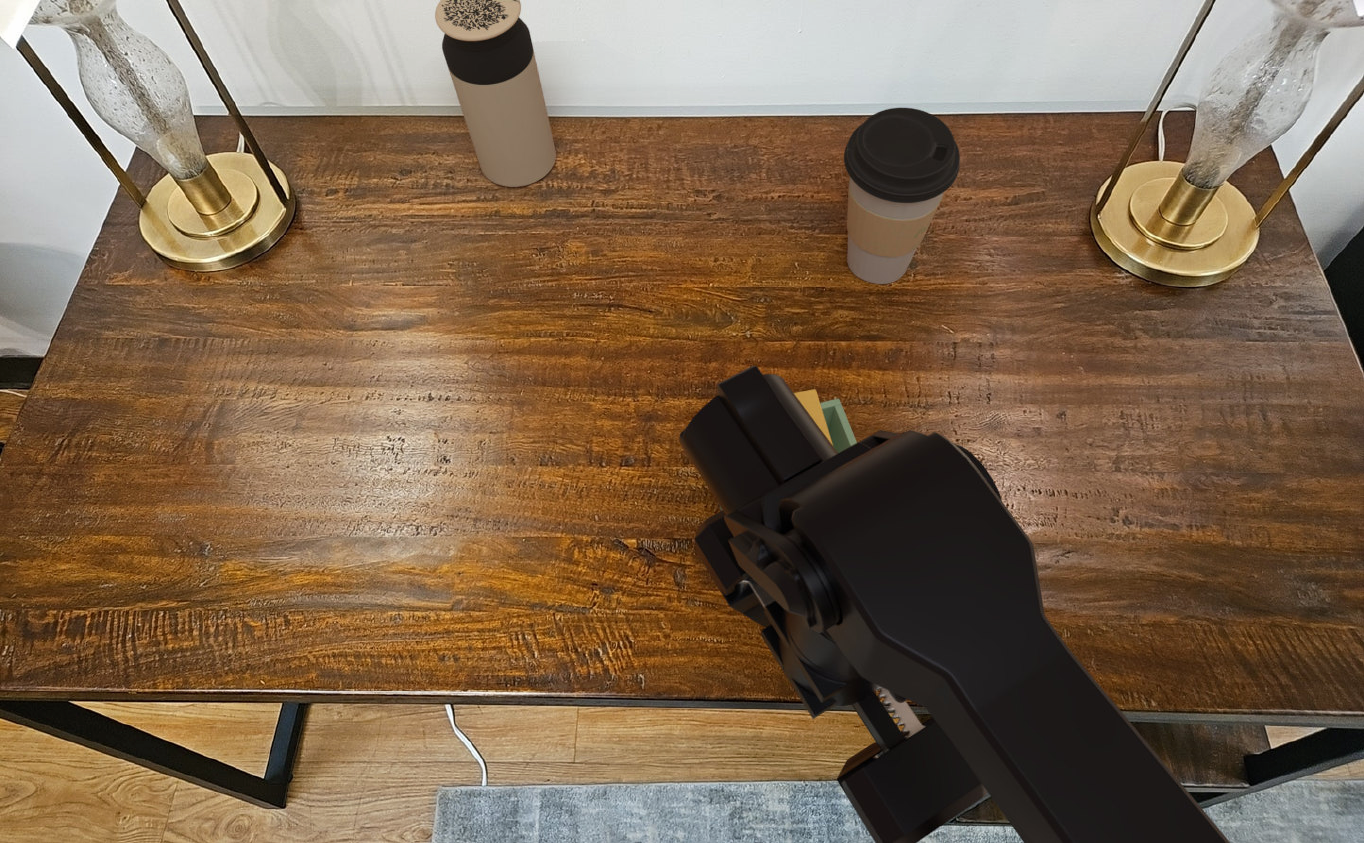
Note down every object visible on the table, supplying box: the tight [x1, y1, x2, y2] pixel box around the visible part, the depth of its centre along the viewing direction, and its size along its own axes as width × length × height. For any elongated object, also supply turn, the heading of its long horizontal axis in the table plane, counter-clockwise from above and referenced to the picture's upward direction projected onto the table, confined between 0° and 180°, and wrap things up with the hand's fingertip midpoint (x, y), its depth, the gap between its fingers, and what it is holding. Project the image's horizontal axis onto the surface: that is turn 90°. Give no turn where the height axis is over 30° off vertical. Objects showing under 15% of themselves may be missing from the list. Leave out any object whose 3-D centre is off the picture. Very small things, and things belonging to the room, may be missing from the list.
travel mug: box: [434, 0, 557, 188], centre depth 85 cm, size 8×8×18 cm
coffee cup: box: [843, 107, 961, 285], centre depth 78 cm, size 9×9×15 cm
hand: (815, 687), depth 54 cm, fingers open, 9 cm apart
